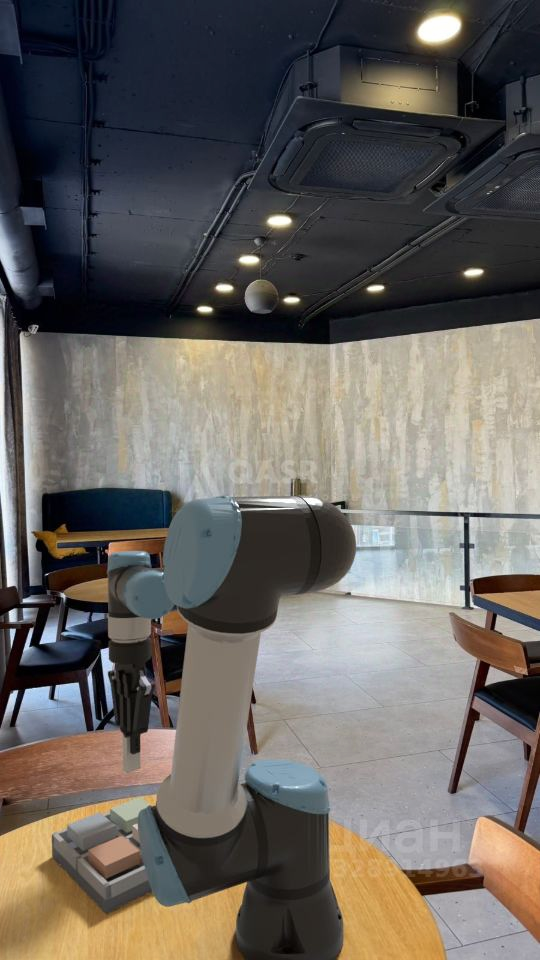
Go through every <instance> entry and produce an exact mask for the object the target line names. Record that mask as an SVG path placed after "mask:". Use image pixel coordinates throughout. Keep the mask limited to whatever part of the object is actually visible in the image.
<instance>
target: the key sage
mask: <svg viewBox="0 0 540 960" xmlns="http://www.w3.org/2000/svg"><path fill="white" fill-rule="evenodd" d="M150 805H151V806H153V805H152V804H150V803H149V802H147V801H146V800H144V798H142V797H140V796H139V797H137V798H134V799H131V800H129V801H126V802H124V803H120V804H117V805H115V806H113V807H110V808H109V812H110V820H111V821H113V822H114V823H115V824H116V825H118V826H119V827H120V828H121V829H123V830H124V831H125V832H126V833H127V832H130V831H132V826H133V825H135V824H137V823H138V814H139V812H140V811H141V810H142V809H145V808H147V806H150Z"/></svg>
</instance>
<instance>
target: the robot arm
mask: <svg viewBox="0 0 540 960" xmlns="http://www.w3.org/2000/svg"><path fill="white" fill-rule="evenodd" d="M356 554H357V539H356V535H355V531H354V528H353V526H352V524H351V522H350V521H349V519H348V517H347V516H346V515H345V513H343V512H342V511H341V510H340V508H338V507H337V506H336V505H334V504H332V503H331V502H328V501H327V500H325V499H322V498H321V497H316V496H310V495H305V494H303V495H301V494H299V495H295V494H294V495H275V496H274V495H270V496H268V495H267V496H266V495H265V496H229V495H218V496H215V497H212V498H211V497H210V498H209V497H208V498H199V499H198V498H197V499H193V500H190V501H188V502H186V503H185V504H184V505H183V506H182V507H181V508H179V509H178V510H177V512H176V513H175V515H174V516H173V518H172V519H171V521H170V524H169V527H168V530H167V534H166V537H165V541H164V546H163V553H162V555H163V556H162V565H163V566H164V567H155V568H154V567H153V568H152V563H151V557H150V556H151V555H150V553H148V551H142V550H125V551H116V552H113V553H111V554H109V556H108V558H107V559H108V561H107V570H106V575H107V603H108V604H107V607H108V613H107V614H108V615H107V630H108V631H107V634H108V635H107V637H108V638H109V639H110V640H109V641H108V660H109V661H110V663H112V664H114V669H112V670H108V671H107V677H108V680H109V684H110V690H111V691H110V692H111V699H112V707H113V708H112V709H113V715H114V724H115V726H116V727H119V730H120V733H122V770H123V772H124V773H126V774H130V773H132V772H134V771H138V770H141V763H142V762H141V735H142V734H143V735H144V734H145V733H147V732H148V731H149V725H150V716H151V715H150V714H151V708H152V707H151V706H152V698H153V694H154V691H155V688H156V684H155V682H154V681H150V682H149V680H148V678H147V676H148V675H147V674H148V671H147V668H146V663H147V662H148V661H149V660H150V659H151V657H152V653H153V652H152V638H151V637H150V635H151V633H152V623H151V622H152V620H156V619H160V618H162V617H165V616H166V615H167V614H168V613H176V612H177V613H178V615H179V616H180V617H181V618H182V620H183V621H185V623H187V631H186V641H185V648H184V649H185V650H184V657H183V658H184V659H183V666H182V675H181V685H180V693H179V701H178V702H179V703H178V709H177V719H176V730H175V736H174V737H175V739H174V747H173V753H172V761H171V762H172V763H171V764H172V765H171V772H170V774H169V775H167V776H166V777H165V778H164V779H163V781H161V784H160V785H159V787H158V789H157V793H156V798H155V805H152V804H150V806H147V808H145V809H142V810H141V811H140V812H139V814H138V834H139V841H140V847H141V852H142V857H143V862H144V866H145V870H146V874H147V877H148V881H149V884H150V887H151V890H152V891H151V892H152V894H153V896H154V899H155V900H156V901H157V902H158V904H159V905H161V906H163V907H166V908H169V907H174V906H178V905H182V904H185V903H186V904H190V903H193V902H194V901H196V900H199V899H202V898H204V897H207V896H210V895H214V894H217V893H220V892H222V891H225V890H228V889H231V888H234V887H236V886H239V885H242V884H244V883H246V884H245V887H244V892H243V895H242V901H241V905H240V907H239V909H238V912H237V915H236V922H235V938H236V939H235V940H236V944H237V948H238V949H239V952H240V954H241V955H242V956H243V957H244V958H245V960H335V959H336V957H338V955H339V954H340V952H341V950H342V949H343V946H344V945H343V944H344V940H345V939H344V936H345V935H344V919H343V914H342V911H341V908H340V906H339V904H338V903H339V902H338V899H337V897H336V893H335V891H334V888H333V884H332V881H331V871H330V865H331V864H330V859H331V858H330V856H331V855H330V811H331V806H330V801H329V791H328V784H327V782H326V781H327V780H326V779H325V778H324V776H323V775H322V774H321V773H320V772H318V771H317V770H316V769H314V768H312V767H310V766H309V765H306V764H303V763H300V762H297V761H291V760H285V759H284V760H283V759H266V760H259V761H257V762H256V761H255V762H254V763H252V764H251V765H250V766H248V767H247V769H246V771H245V774H244V781H245V782H243V783H241V782H239V779H240V773H241V766H242V760H243V753H244V748H245V747H244V746H245V740H246V735H247V734H246V733H247V727H248V721H249V715H250V708H251V701H252V700H251V699H252V694H253V688H254V687H253V686H254V681H255V675H256V668H257V662H258V661H257V660H258V654H259V650H260V649H259V648H260V641H261V640H260V639H261V635H262V633H264V632H265V631H267V630H268V629H270V628H271V627H272V626H273V625H274V624H275V623H276V619H277V616H278V608H279V605H280V600H281V598H283V597H291V596H296V595H303V594H311V593H316V592H320V591H323V590H327V589H328V588H330V587H333V586H334V585H336V584H338V583H339V582H340V581H341V580H342V579H344V578H345V577H346V575H347V574H348V573H349V572H350V570H351V568H352V566H353V563H354V562H355V557H356ZM151 805H152V806H151Z"/></svg>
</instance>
